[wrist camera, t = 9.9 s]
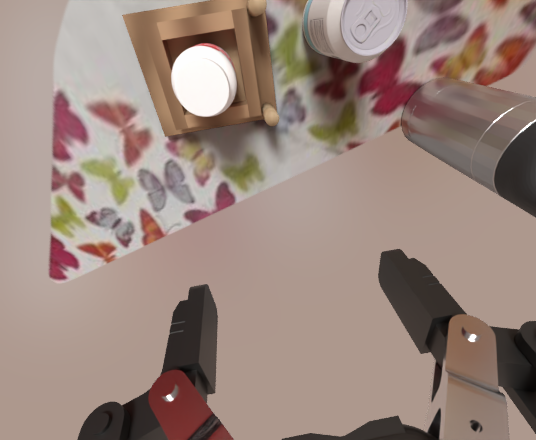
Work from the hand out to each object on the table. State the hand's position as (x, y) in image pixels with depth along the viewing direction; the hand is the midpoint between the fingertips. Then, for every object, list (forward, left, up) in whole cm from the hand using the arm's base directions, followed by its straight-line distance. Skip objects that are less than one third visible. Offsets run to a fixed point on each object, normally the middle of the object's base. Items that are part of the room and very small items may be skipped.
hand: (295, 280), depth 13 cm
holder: (+4, -6, -30) cm, 31 cm away
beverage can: (-11, -9, -30) cm, 33 cm away
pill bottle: (+4, -6, -29) cm, 30 cm away
